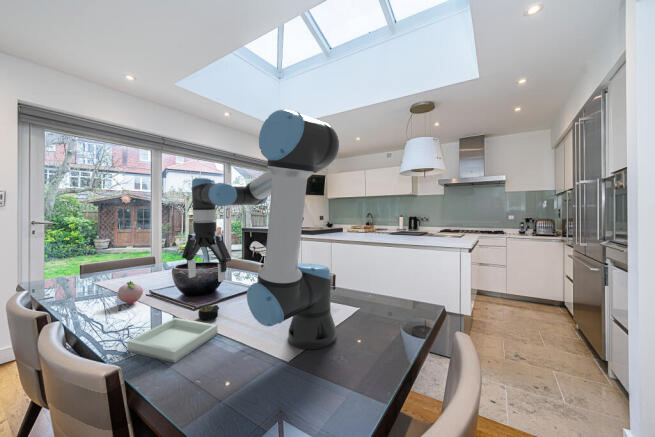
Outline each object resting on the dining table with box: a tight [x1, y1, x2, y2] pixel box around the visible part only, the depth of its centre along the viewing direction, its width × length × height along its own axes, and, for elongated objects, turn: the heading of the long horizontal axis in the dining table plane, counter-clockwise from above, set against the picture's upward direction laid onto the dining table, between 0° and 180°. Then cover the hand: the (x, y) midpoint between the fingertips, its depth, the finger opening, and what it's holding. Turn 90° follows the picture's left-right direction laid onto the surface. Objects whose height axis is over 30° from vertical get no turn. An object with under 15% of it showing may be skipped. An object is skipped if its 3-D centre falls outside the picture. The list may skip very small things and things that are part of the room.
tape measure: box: [197, 304, 220, 321], centre depth 98 cm, size 7×7×4 cm
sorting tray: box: [126, 317, 219, 364], centre depth 81 cm, size 18×16×3 cm
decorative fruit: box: [117, 280, 144, 305], centre depth 111 cm, size 9×8×10 cm
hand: (206, 278), depth 97 cm, fingers open, 13 cm apart
